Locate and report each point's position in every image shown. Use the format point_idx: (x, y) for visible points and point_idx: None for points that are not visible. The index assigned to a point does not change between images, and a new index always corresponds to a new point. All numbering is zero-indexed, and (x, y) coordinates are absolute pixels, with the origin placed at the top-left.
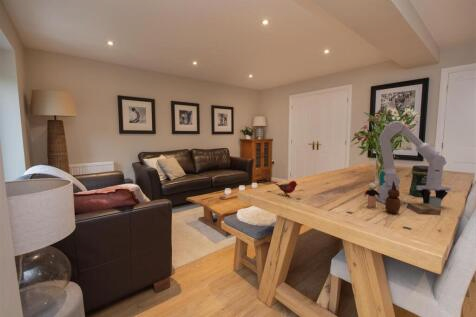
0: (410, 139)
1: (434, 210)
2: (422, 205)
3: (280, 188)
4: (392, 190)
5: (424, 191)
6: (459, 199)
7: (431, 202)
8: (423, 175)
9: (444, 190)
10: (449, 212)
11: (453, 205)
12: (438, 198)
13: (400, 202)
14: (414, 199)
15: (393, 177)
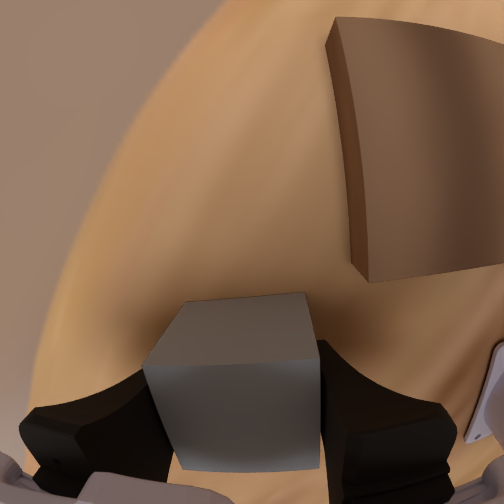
0: None
1: (402, 27)
2: (475, 164)
3: None
4: None
5: (451, 446)
6: (29, 469)
7: (291, 326)
8: None
9: (46, 481)
10: (165, 168)
11: (57, 396)
12: (178, 380)
13: (495, 361)
14: (281, 494)
15: None
